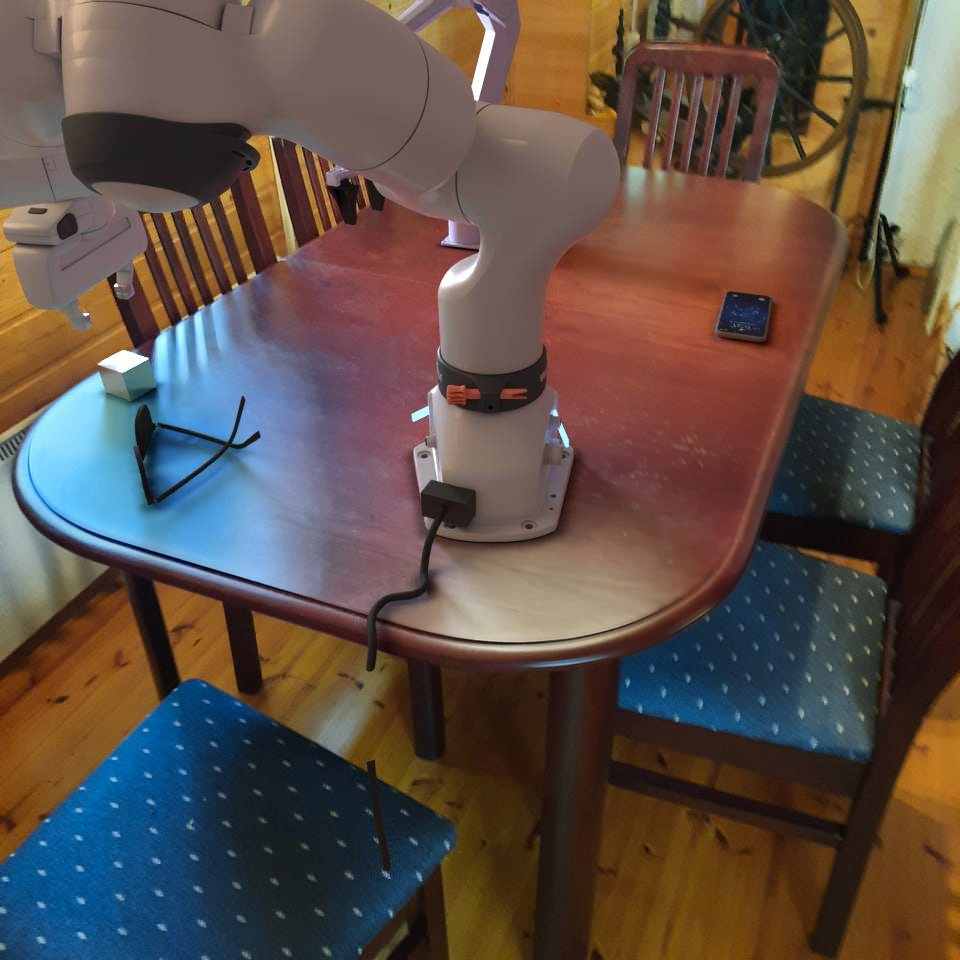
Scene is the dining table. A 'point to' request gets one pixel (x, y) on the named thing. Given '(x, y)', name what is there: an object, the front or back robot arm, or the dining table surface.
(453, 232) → the back robot arm
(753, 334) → the smartphone
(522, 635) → the dining table surface
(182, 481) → the sunglasses
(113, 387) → the block
